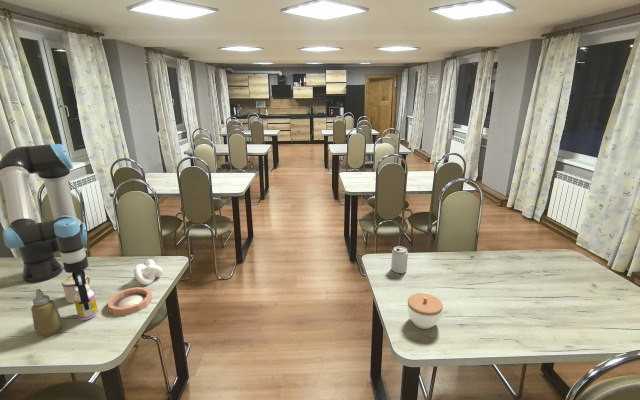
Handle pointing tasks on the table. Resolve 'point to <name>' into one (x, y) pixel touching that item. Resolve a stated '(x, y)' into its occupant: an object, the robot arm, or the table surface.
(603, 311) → the table surface
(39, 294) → the squeeze bottle
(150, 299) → the saucer tray
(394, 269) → the can
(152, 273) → the white decorative knot
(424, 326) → the lidded bowl
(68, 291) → the teacup with lid
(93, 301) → the supplement bottle
